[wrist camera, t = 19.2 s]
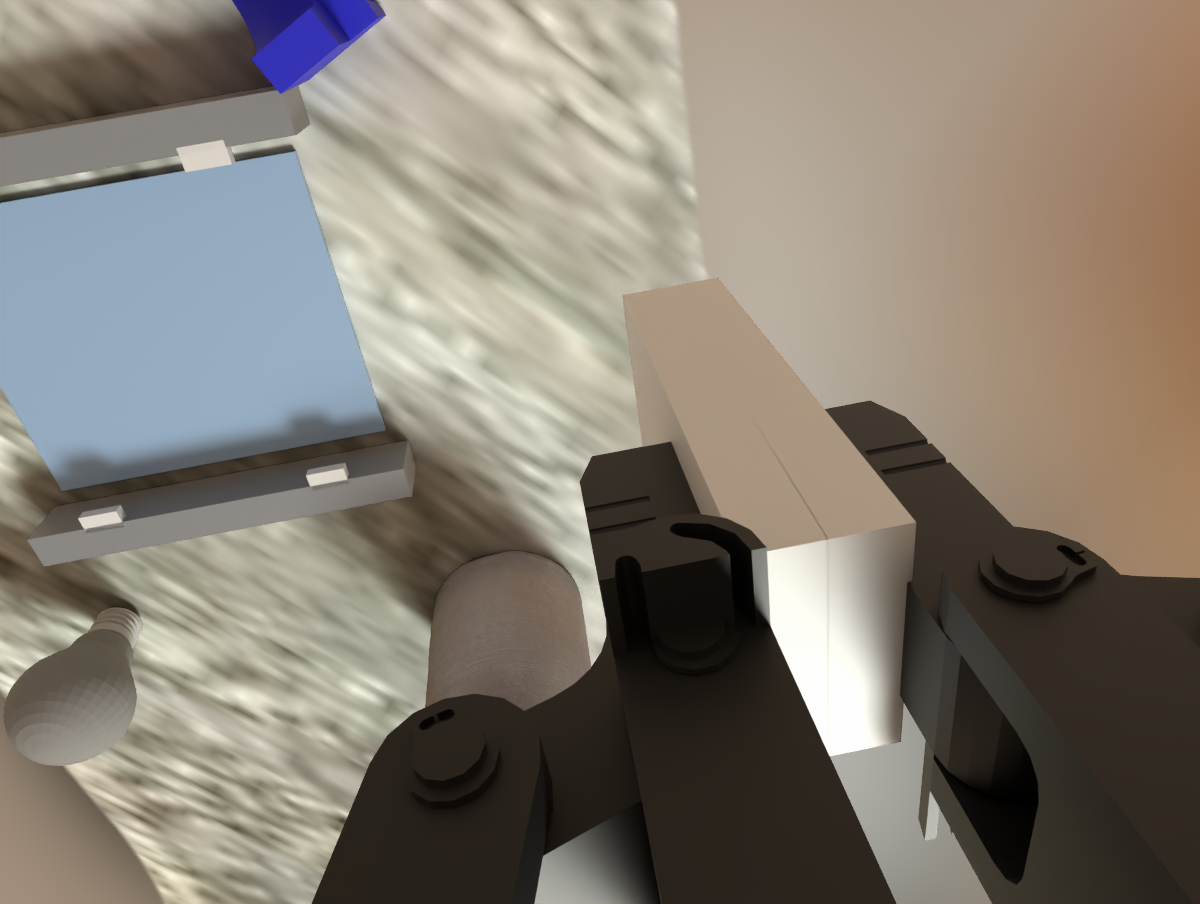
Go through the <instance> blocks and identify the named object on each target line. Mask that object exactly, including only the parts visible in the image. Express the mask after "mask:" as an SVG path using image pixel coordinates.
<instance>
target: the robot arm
mask: <svg viewBox="0 0 1200 904" xmlns="http://www.w3.org/2000/svg"><path fill="white" fill-rule="evenodd" d="M622 298H623V305H624V313H625V320H626V327H627V334H628V342H629V349H630V356H631V364H632V371H633V378H634V385H635V393H636V400H637V407H638V415H639V422H640V429H641V436H642V444H643V447H639V448H634V449H629V450H623V451H618V452H613V453H608V454H602V455H597V456H592V458H591V460H590V462H589V464H588V466H587V468H586V470H585V472H584V474H583V476H582V478H581V480H580V486H581V491H582V496H583V501H584V507H585V512H586V517H587V523H588V528H589V533H590V538H591V544H592V549H593V554H594V560H595V565H596V570H597V575H598V581H599V586H600V591H601V596H602V602H603V607H604V612H605V617H606V630H607V636H606V639H605V642H604V645H603V648H602V652H601V653H600V655H599V656H598V658H597V659H596V661H595V662H594V664H593V665H592V667H591V668H590V670H588V671H587V672H586V673H585V674H584V675H583V676H582V677H581V678H580V679H579V680H578V681H577V682H576V683H575V684H573V685H571V686H570V687H568V688H567V689H565V690H563V691H562V692H560V693H558V694H557V695H555V696H553V697H551V698H549V699H547V700H545V701H543V702H541V703H539V704H537V705H535V706H533V707H531V708H529V709H527V710H525V711H524V710H522V709H521V708H519V707H518V706H516V705H514V704H513V703H511V702H510V701H508V700H506V699H505V698H501V697H494V696H488V695H481V694H470V695H464V696H458V697H452V698H446V699H442V700H440V701H438V702H436V703H434V704H432V705H430V706H428V707H425V708H423V709H421V710H419V711H417V712H415V713H413V714H412V715H411V716H410V717H408V718H407V719H406V720H405V721H404V722H403V723H401V724H400V725H399V726H398V727H397V728H396V729H394V730H393V731H392V732H391V733H390V734H389V735H387V737H386V739H385V740H384V742H383V743H382V745H381V746H380V748H379V750H378V751H377V753H376V754H375V756H374V757H373V759H372V761H371V762H370V764H369V767H368V769H367V771H366V774H365V776H364V779H363V781H362V783H361V786H360V788H359V791H358V793H357V796H356V798H355V800H354V803H353V805H352V808H351V810H350V812H349V815H348V817H347V820H346V822H345V824H344V827H343V829H342V832H341V834H340V837H339V839H338V841H337V844H336V846H335V849H334V851H333V853H332V856H331V858H330V861H329V863H328V865H327V868H326V870H325V873H324V875H323V878H322V880H321V882H320V885H319V887H318V890H317V892H316V894H315V897H314V899H313V902H312V904H896V902H895V900H894V897H893V895H892V893H891V891H890V888H889V887H888V884H887V882H886V880H885V878H884V876H883V873H882V871H881V869H880V867H879V864H878V862H877V860H876V858H875V856H874V853H873V851H872V849H871V847H870V845H869V842H868V840H867V838H866V836H865V833H864V831H863V829H862V827H861V825H860V822H859V820H858V818H857V816H856V814H855V811H854V809H853V807H852V805H851V803H850V800H849V798H848V796H847V794H846V791H845V789H844V787H843V785H842V783H841V780H840V778H839V776H838V774H837V772H836V769H835V767H834V765H833V763H832V761H831V759H830V756H832V755H838V754H842V753H848V752H852V751H857V750H862V749H867V748H872V747H877V746H882V745H886V744H891V743H897V742H901V732H902V718H903V703H905V705H906V707H907V709H908V710H909V712H910V714H911V715H912V717H913V719H914V720H915V722H916V724H917V726H918V727H919V729H920V731H921V732H922V734H923V736H924V738H925V739H926V743H925V754H924V765H923V775H922V786H921V798H920V808H919V822H920V825H921V829H922V832H923V836H924V839H925V840H930V839H935V838H936V835H937V825H938V817H939V809H940V810H941V812H942V813H943V815H944V817H945V819H946V821H947V822H948V824H949V826H950V828H951V833H952V835H955V837H956V839H957V840H958V842H959V844H960V846H961V848H962V850H963V851H964V853H965V855H966V857H967V859H968V860H969V862H970V864H971V866H972V868H973V869H974V871H975V873H976V875H977V876H978V878H979V880H980V882H981V884H982V886H983V888H984V889H985V891H986V893H987V894H988V897H989V898H990V900H991V902H992V904H1200V578H1177V577H1176V578H1175V577H1144V576H1129V575H1120V574H1119V573H1118V572H1117V571H1116V570H1115V569H1114V568H1112V567H1111V566H1110V565H1109V564H1108V563H1107V562H1106V561H1105V560H1104V559H1102V558H1101V557H1099V556H1098V555H1096V554H1095V553H1093V552H1092V551H1090V550H1089V549H1087V548H1086V547H1084V546H1083V545H1081V544H1080V543H1078V542H1076V541H1073V540H1070V539H1067V538H1064V537H1062V536H1059V535H1056V534H1054V533H1051V532H1048V531H1041V530H1035V529H1027V528H1021V527H1013V526H1012V525H1011V524H1010V523H1009V522H1008V521H1007V520H1006V519H1005V518H1004V517H1003V516H1002V515H1001V514H1000V513H999V512H998V511H997V509H996V508H995V507H994V506H993V505H991V503H990V502H989V501H988V500H987V499H986V498H985V497H984V496H983V495H982V494H981V493H980V492H979V491H978V490H977V489H976V488H975V487H974V486H973V485H972V484H971V483H970V482H969V481H968V480H967V479H966V478H965V477H964V476H963V475H962V474H961V473H960V472H959V471H958V470H957V469H956V468H955V467H954V466H953V465H952V464H951V463H946V459H945V457H944V456H943V455H942V454H941V453H940V452H939V451H938V450H937V449H936V448H935V447H934V446H933V445H932V444H928V442H927V439H926V437H924V435H923V434H922V433H921V432H920V431H919V430H918V429H917V428H916V427H915V426H914V425H913V424H912V423H911V422H910V421H909V420H908V419H907V418H906V417H905V416H902V415H900V414H898V413H896V412H894V411H891V410H889V409H887V408H885V407H883V406H880V405H878V404H876V403H874V402H872V401H866V402H861V403H855V404H851V405H845V406H840V407H834V408H829V409H824V408H823V407H822V405H821V404H820V403H819V402H818V401H817V399H816V398H815V397H814V396H813V394H812V393H811V392H810V391H809V389H808V388H807V387H806V386H805V384H804V383H803V382H802V381H801V380H800V378H799V377H798V376H797V375H796V373H795V372H794V371H793V370H792V369H791V367H790V366H789V365H788V364H787V362H786V361H785V360H784V359H783V357H782V356H781V355H780V354H779V352H778V351H777V350H776V349H775V347H774V346H773V345H772V344H771V343H770V341H769V340H768V339H767V338H766V337H765V335H764V334H763V333H762V331H761V330H760V329H759V328H758V327H757V325H756V324H755V323H754V322H753V320H752V319H751V318H750V317H749V315H748V314H747V313H746V312H745V311H744V309H743V308H742V307H741V306H740V304H739V303H738V302H737V301H736V299H735V298H734V297H733V296H732V294H730V292H729V291H728V290H727V288H726V287H725V286H724V285H723V283H722V282H721V281H720V280H719V278H715V279H709V280H704V281H698V282H693V283H688V284H682V285H677V286H671V287H666V288H660V289H655V290H649V291H644V292H639V293H633V294H628V295H622Z"/></svg>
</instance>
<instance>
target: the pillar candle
mask: <svg viewBox="0 0 1200 904" xmlns="http://www.w3.org/2000/svg"><path fill="white" fill-rule="evenodd" d="M428 665H429V670H428V682H427V692H426V705H425V707H428V706H430V705H432V704H434V703H436V702H438V701H440V700H442V699H446V698H452V697H458V696H464V695H470V694H481V695H488V696H494V697H501V698H505V699H506V700H508V701H510V702H511V703H513V704H514V705H516V706H518V707H519V708H521V709H522V710H524V711H525V710H527V709H529V708H531V707H533V706H535V705H537V704H539V703H541V702H543V701H545V700H547V699H549V698H551V697H553V696H555V695H557V694H558V693H560V692H562V691H563V690H565V689H567V688H568V687H570V686H571V685H573V684H575V683H576V682H577V681H578V680H579V679H580V678H581V677H582V676H583V675H584V674H585V673H586V672H587V671H588V670H590V668H591V663H590V656H589V649H588V642H587V636H586V627H585V621H584V615H583V609H582V601H581V596H580V593H579V590H578V587H577V585H576V583H575V582H574V580H573V579H572V577H571V576H570V575H569V574H568V573H567V572H566V571H565V570H564V569H563V568H562V567H561V566H560V565H558V564H557V563H555V562H553V561H552V560H550V559H547V558H545V557H543V556H541V555H537V554H534V553H528V552H524V551H507V552H502V553H498V554H494V555H489V556H486V557H482V558H479V559H477V560H474V561H471V562H468V563H466V564H464V565H462V566H461V567H459V568H458V569H457V570H455V571H454V572H453V573H452V574H450V576H448V578H447V579H446V581H445V582H444V584H443V585H442V586H441V588H440V589H439V592H438V595H437V598H436V603H435V607H434V613H433V622H432V626H431V639H430V648H429V664H428Z"/></svg>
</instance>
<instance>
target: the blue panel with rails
mask: <svg viewBox="0 0 1200 904" xmlns="http://www.w3.org/2000/svg"><path fill="white" fill-rule="evenodd" d="M309 125H310V122H309V119H308V116H307V113H306V110H305V106H304V103H303V100H302V97H301V94H300V90H299V87H298V86H296V87H294V88H292V89H290V90H288V91H286V92H284V93H282V94H280V93H279V92H278V91H277V90H276V88H275V87H274V86H271V87H265V88H259V89H254V90H248V91H242V92H236V93H230V94H224V95H219V96H213V97H207V98H201V99H195V100H190V101H184V102H178V103H172V104H166V105H161V106H155V107H149V108H143V109H137V110H132V111H126V112H120V113H114V114H108V115H103V116H97V117H91V118H85V119H79V120H74V121H68V122H62V123H56V124H50V125H45V126H39V127H33V128H27V129H21V130H16V131H10V132H4V133H0V187H1V186H7V185H12V184H18V183H24V182H30V181H35V180H41V179H47V178H53V177H58V176H64V175H70V174H76V173H81V172H87V171H93V170H98V169H104V168H110V167H116V166H121V165H127V164H133V163H139V162H144V161H150V160H156V159H161V158H167V157H173V156H179V157H180V160H181V162H182V165H183V167H184V170H182V171H177V172H171V173H165V174H160V175H154V176H148V177H142V178H137V179H131V180H125V181H120V182H114V183H108V184H103V185H97V186H91V187H85V188H80V189H74V190H68V191H63V192H57V193H51V194H45V195H40V196H34V197H28V198H23V199H17V200H11V201H5V202H0V387H1V389H2V391H3V392H4V394H5V396H6V397H7V399H8V401H9V402H10V404H11V406H12V407H13V409H14V411H15V413H16V414H17V416H18V418H19V419H20V421H21V423H22V424H23V426H24V428H25V430H26V431H27V433H28V435H29V436H30V438H31V440H32V441H33V443H34V445H35V447H36V448H37V450H38V452H39V453H40V455H41V457H42V458H43V460H44V462H45V463H46V465H47V467H48V469H49V470H50V472H51V474H52V475H53V477H54V479H55V480H56V482H57V484H58V486H59V487H60V489H61V491H66V490H71V489H77V488H82V487H87V486H93V485H98V484H103V483H109V482H114V481H119V480H125V479H130V478H135V477H141V476H146V475H151V474H157V473H162V472H167V471H173V470H178V469H183V468H189V467H194V466H199V465H205V464H210V463H215V462H221V461H226V460H231V459H237V458H242V457H247V456H253V455H258V454H263V453H269V452H274V451H279V450H285V449H290V448H295V447H301V446H306V445H311V444H317V443H322V442H327V441H333V440H338V439H343V438H349V437H354V436H359V435H365V434H370V433H375V432H381V431H385V429H386V427H385V424H384V421H383V418H382V415H381V412H380V409H379V406H378V403H377V400H376V396H375V393H374V390H373V387H372V384H371V381H370V378H369V375H368V372H367V369H366V366H365V363H364V359H363V356H362V353H361V350H360V347H359V344H358V341H357V338H356V335H355V332H354V329H353V326H352V322H351V319H350V316H349V313H348V310H347V307H346V304H345V301H344V298H343V295H342V292H341V289H340V285H339V282H338V279H337V276H336V273H335V270H334V267H333V264H332V261H331V258H330V255H329V251H328V248H327V245H326V242H325V239H324V236H323V233H322V230H321V227H320V224H319V221H318V218H317V214H316V211H315V208H314V205H313V202H312V199H311V196H310V193H309V190H308V187H307V184H306V181H305V177H304V174H303V171H302V168H301V165H300V162H299V159H298V156H297V153H296V151H291V152H285V153H280V154H274V155H268V156H262V157H257V158H251V159H245V160H240V161H235V158H234V155H233V153H232V150H231V147H230V146H236V145H242V144H247V143H253V142H259V141H265V140H270V139H276V138H282V137H288V136H293V135H297V134H298V133H299V132H301V131H302V130H303V129H305V128H306V127H307V126H309ZM415 472H416V464H415V461H414V457H413V454H412V451H411V448H410V445H409V441H408V440H406V441H400V442H395V443H390V444H384V445H379V446H374V447H369V448H363V449H358V450H353V451H347V452H342V453H337V454H331V455H326V456H321V457H315V458H310V459H305V460H299V461H294V462H289V463H283V464H278V465H273V466H267V467H262V468H257V469H252V470H246V471H241V472H236V473H230V474H225V475H220V476H214V477H209V478H204V479H198V480H193V481H188V482H182V483H177V484H172V485H166V486H161V487H156V488H150V489H145V490H140V491H134V492H129V493H124V494H119V495H113V496H108V497H103V498H97V499H92V500H87V501H81V502H76V503H71V504H65V505H60V506H55V507H54V508H53V509H52V511H51V512H50V513H49V514H48V515H47V517H46V518H45V519H44V520H43V521H42V523H41V524H40V525H39V526H38V527H37V529H36V530H35V531H34V532H33V533H32V535H31V536H30V537H29V538H28V539H27V541H28V542H29V544H30V546H31V547H32V549H33V550H34V552H35V553H36V555H37V557H38V558H39V560H40V561H41V563H42V564H43V566H50V565H55V564H60V563H65V562H71V561H76V560H81V559H86V558H92V557H97V556H102V555H108V554H113V553H118V552H123V551H129V550H134V549H139V548H144V547H150V546H155V545H160V544H165V543H171V542H176V541H181V540H186V539H192V538H197V537H202V536H207V535H213V534H218V533H223V532H228V531H234V530H239V529H244V528H249V527H255V526H260V525H265V524H270V523H276V522H281V521H286V520H291V519H297V518H302V517H307V516H312V515H318V514H323V513H328V512H333V511H339V510H344V509H349V508H354V507H360V506H365V505H370V504H375V503H381V502H386V501H391V500H396V499H402V498H407V497H412V493H413V486H414V479H415Z"/></svg>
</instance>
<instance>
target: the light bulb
mask: <svg viewBox="0 0 1200 904" xmlns="http://www.w3.org/2000/svg"><path fill="white" fill-rule="evenodd" d="M142 628H143V624H142V621H141V619H140V618H139V617H138V616H137V614H135V613H134V612H132V611H130V610H128V609H125V608H117V607H115V608H109V609H106V610H104V611H102V612H101V613H100V614H99V615H98V617H97V619H96V620H95V622H94V624H93V625H92V626H91V629H90V630H89V631H88V633H86V634H84V635H82V636H81V637H79V638H78V639H77V640H76V641H75V642H74V643H73V644H72V645H71V646H70V647H69V648H67V649H65V650H62V651H59V652H57V653H55V654H53V655H51V656H48V657H46V658H44V659H42V660H40V661H38V662H37V663H36V664H34V665H33V666H31V667H30V668H29V669H28V670H26V671H25V672H24V673H23V674H22V676H21V677H20V678H19V679H18V680H17V681H16V682H15V684H14V685H13V687H12V688H11V690H10V692H9V694H8V696H7V699H6V702H5V708H4V724H5V728H6V732H7V735H8V737H9V739H10V741H11V742H12V744H13V745H14V747H15V748H16V749H17V750H18V751H19V752H20V753H22V754H23V755H24V756H26V757H27V758H29V759H31V760H33V761H35V762H38V763H41V764H45V765H58V766H59V765H60V766H63V765H71V764H75V763H79V762H83V761H86V760H88V759H91V758H93V757H95V756H97V755H99V754H101V753H102V752H104V751H105V750H107V749H108V748H110V747H111V746H112V745H114V744H115V743H116V742H117V741H118V740H119V739H120V738H121V736H122V735H123V734H124V733H125V732H126V730H127V728H128V726H129V724H130V722H131V720H132V718H133V715H134V712H135V706H136V699H137V695H136V688H135V684H134V680H133V677H132V674H131V669H130V667H131V665H132V661H133V650H132V648H133V646H134V644H135V642H136V641H137V639H138V637H139V635H140V633H141V631H142Z"/></svg>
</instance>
